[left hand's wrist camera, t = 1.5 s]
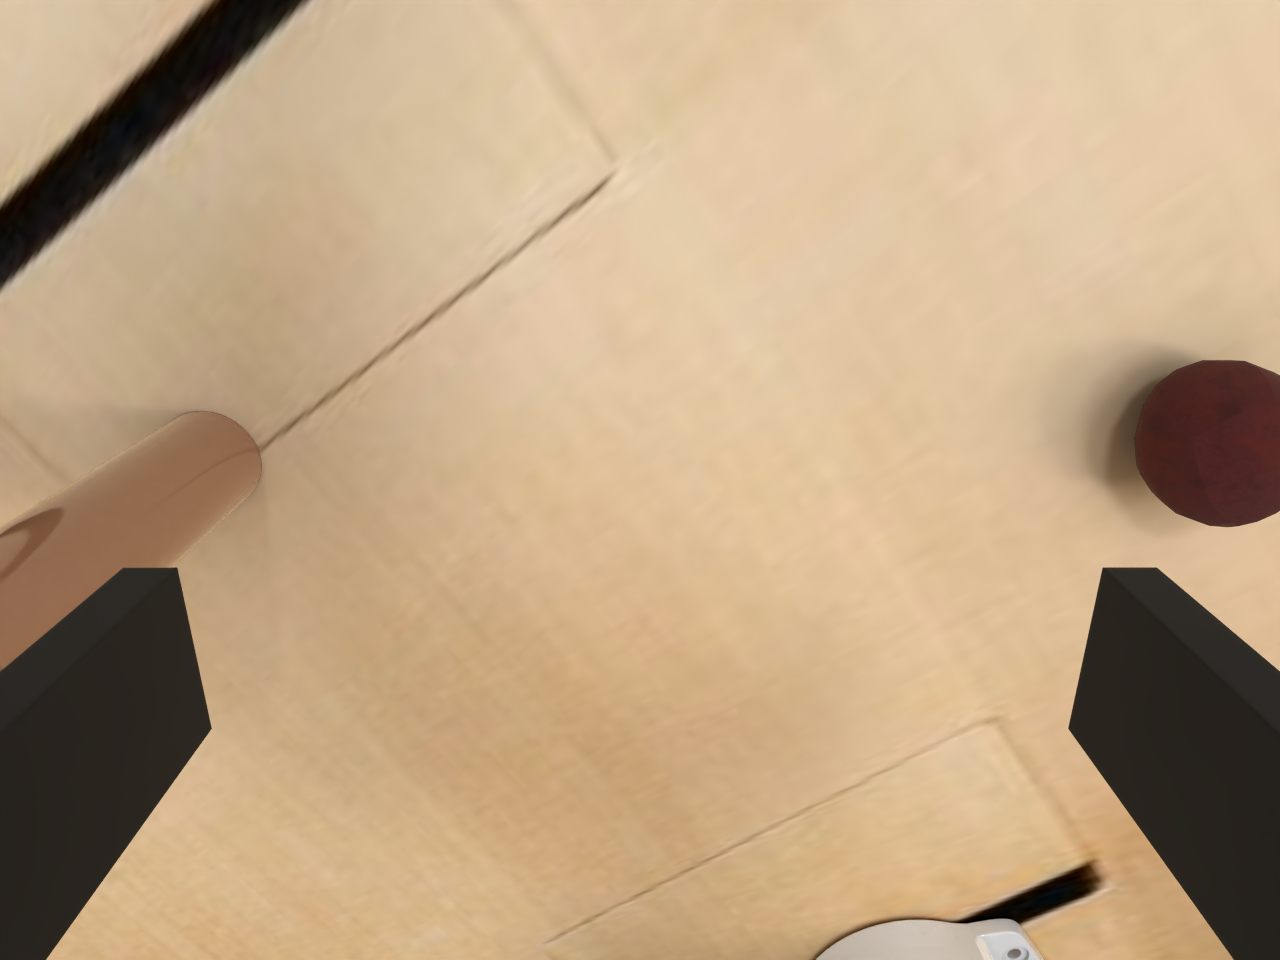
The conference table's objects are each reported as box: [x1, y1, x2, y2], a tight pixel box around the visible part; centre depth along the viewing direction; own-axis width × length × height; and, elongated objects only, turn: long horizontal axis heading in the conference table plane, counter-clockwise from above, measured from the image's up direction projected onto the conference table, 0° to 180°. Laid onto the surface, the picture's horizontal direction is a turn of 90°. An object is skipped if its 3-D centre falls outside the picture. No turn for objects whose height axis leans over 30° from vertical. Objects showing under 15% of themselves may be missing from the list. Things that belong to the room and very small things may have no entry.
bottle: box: [0, 412, 261, 671], centre depth 34 cm, size 5×5×25 cm
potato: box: [1134, 360, 1280, 527], centre depth 41 cm, size 7×8×7 cm
